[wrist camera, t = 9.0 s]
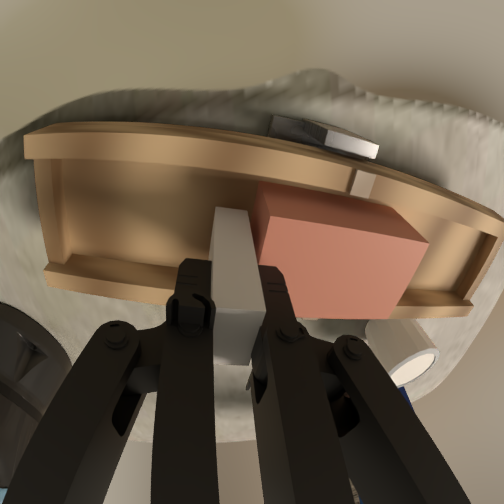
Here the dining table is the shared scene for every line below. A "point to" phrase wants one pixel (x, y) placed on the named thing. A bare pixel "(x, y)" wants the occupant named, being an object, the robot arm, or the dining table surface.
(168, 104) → the dining table surface
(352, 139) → the pivot stand
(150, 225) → the beam
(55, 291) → the dining table surface
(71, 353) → the dining table surface
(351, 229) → the block
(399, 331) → the white cylinder
